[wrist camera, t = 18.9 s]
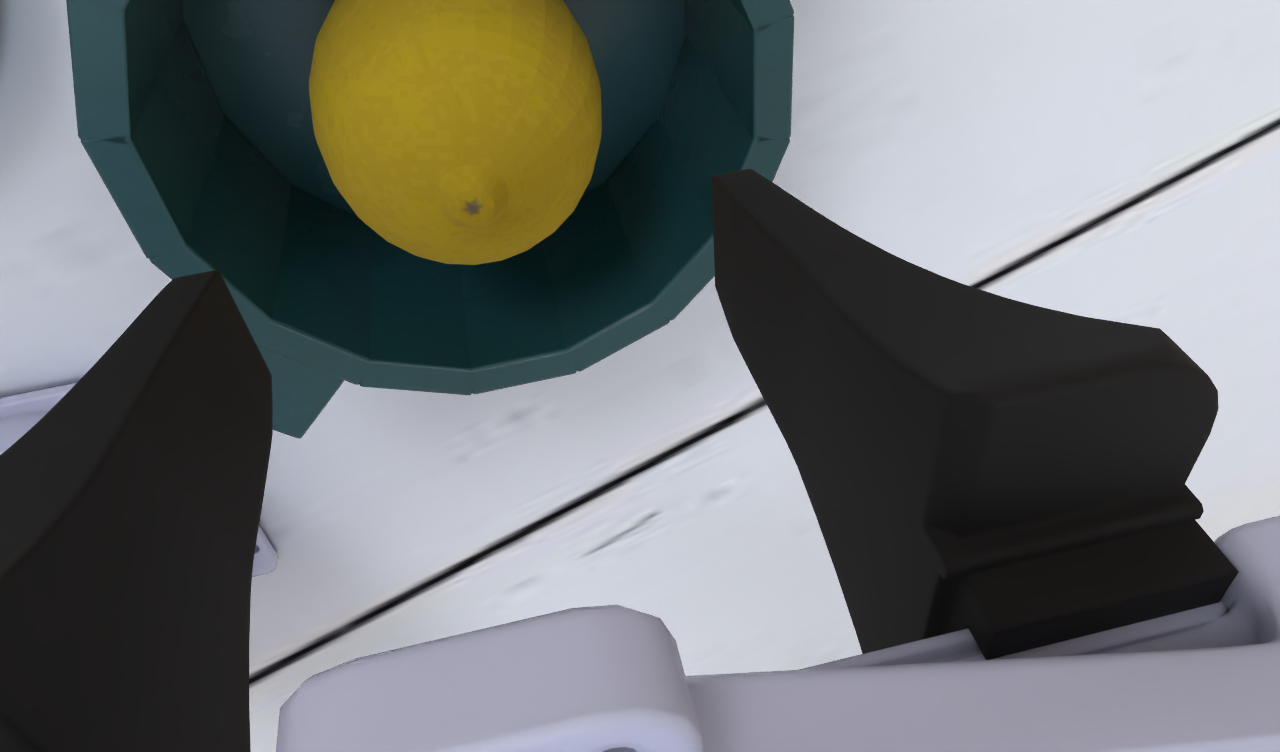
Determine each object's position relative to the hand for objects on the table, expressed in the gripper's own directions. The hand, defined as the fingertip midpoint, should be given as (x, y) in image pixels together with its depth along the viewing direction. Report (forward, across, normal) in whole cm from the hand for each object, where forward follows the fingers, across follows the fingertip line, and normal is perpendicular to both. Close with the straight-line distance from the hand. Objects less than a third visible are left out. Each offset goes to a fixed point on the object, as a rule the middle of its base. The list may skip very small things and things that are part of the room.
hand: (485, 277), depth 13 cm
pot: (+10, 0, 0) cm, 10 cm away
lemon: (+10, 0, 0) cm, 10 cm away
